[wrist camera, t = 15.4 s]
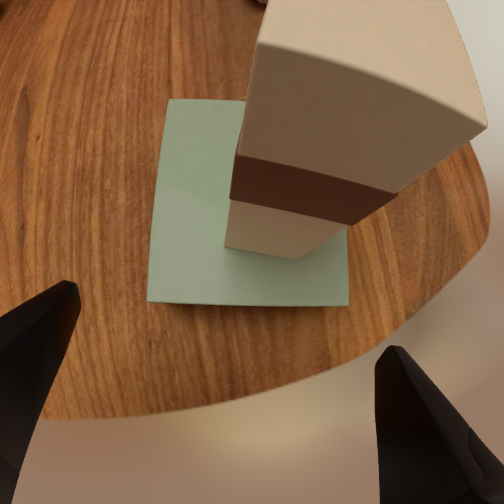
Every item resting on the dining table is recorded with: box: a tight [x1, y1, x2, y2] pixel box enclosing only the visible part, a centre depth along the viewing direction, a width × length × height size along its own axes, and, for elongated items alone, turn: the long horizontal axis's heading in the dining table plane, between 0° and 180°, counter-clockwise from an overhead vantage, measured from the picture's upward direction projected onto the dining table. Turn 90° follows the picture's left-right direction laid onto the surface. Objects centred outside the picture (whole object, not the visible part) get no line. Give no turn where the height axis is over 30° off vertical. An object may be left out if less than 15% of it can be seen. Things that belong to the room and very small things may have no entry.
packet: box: [224, 0, 488, 261], centre depth 11 cm, size 6×4×14 cm
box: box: [147, 99, 349, 307], centre depth 20 cm, size 13×11×4 cm
